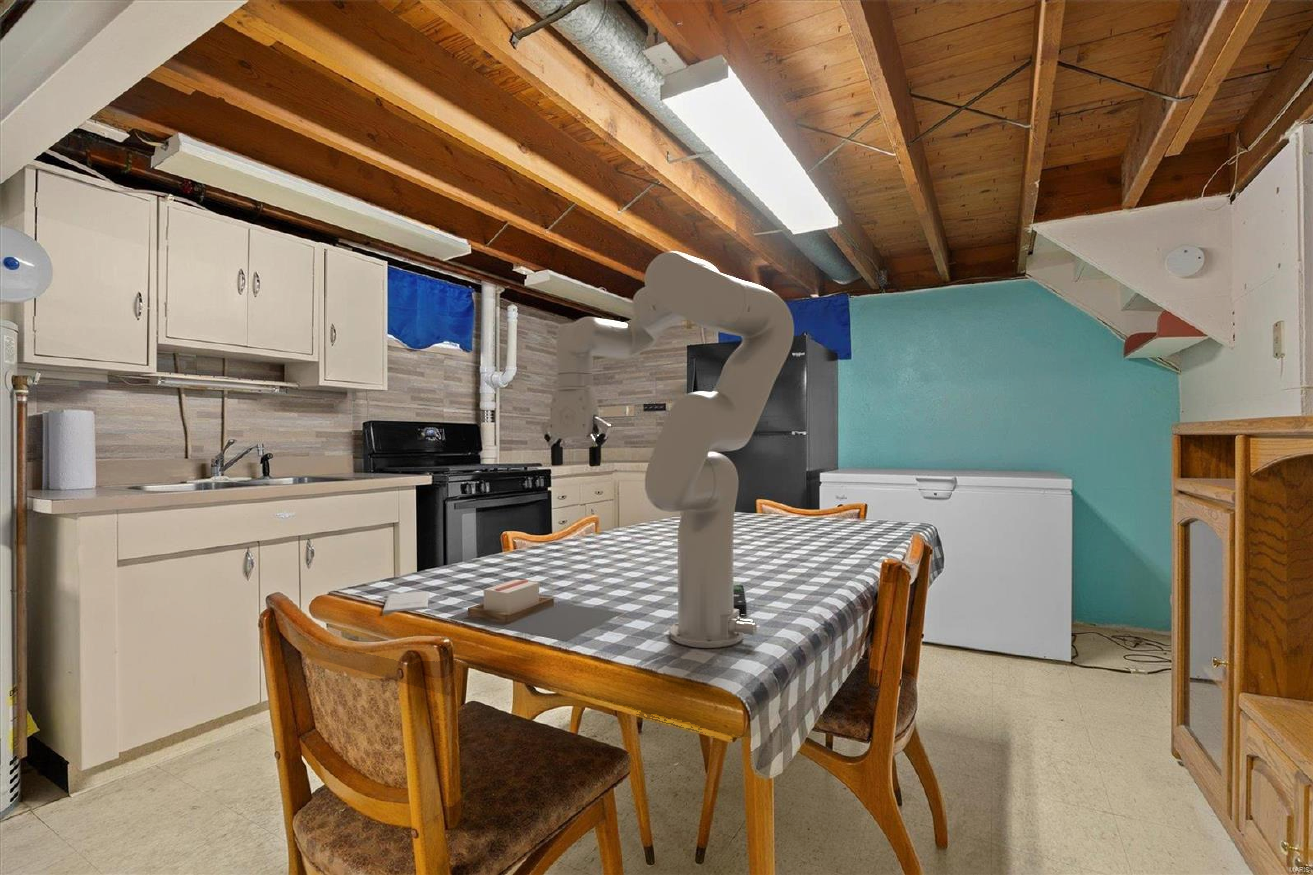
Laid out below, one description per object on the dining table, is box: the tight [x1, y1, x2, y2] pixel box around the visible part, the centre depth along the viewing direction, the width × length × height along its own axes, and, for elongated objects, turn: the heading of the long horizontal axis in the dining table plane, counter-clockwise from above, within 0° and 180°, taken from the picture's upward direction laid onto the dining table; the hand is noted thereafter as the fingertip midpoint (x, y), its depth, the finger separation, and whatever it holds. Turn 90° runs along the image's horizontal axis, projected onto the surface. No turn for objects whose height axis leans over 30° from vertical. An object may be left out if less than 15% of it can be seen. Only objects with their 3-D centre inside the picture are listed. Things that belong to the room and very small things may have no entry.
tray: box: [467, 595, 555, 624], centre depth 118 cm, size 10×13×2 cm
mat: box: [447, 601, 624, 642], centre depth 115 cm, size 28×18×1 cm, turn 61°
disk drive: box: [734, 584, 748, 616], centre depth 124 cm, size 10×3×15 cm
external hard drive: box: [382, 590, 430, 616], centre depth 125 cm, size 2×8×12 cm
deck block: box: [483, 579, 540, 613], centre depth 118 cm, size 9×6×5 cm, turn 151°
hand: (575, 465), depth 127 cm, fingers open, 9 cm apart
